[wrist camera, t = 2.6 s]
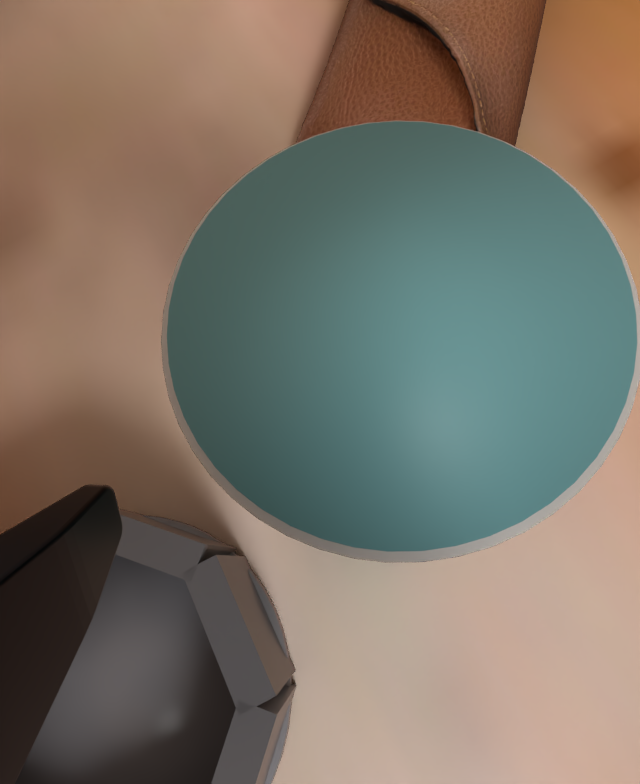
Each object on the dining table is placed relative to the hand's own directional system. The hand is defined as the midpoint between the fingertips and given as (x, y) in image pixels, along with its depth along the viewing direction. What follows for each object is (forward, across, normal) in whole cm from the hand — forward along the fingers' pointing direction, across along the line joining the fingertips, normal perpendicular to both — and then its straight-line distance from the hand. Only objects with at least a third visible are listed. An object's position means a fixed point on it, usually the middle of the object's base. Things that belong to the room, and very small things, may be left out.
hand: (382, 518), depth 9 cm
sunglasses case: (+22, -2, -8) cm, 24 cm away
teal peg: (+8, 0, +5) cm, 10 cm away
